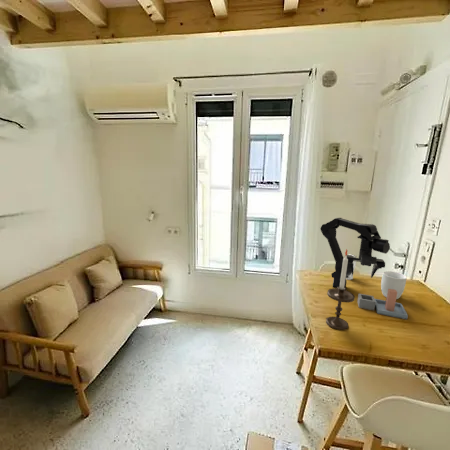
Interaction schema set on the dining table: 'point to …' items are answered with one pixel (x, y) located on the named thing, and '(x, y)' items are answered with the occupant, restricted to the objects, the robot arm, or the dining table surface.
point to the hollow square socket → (366, 301)
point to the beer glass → (353, 268)
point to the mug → (393, 282)
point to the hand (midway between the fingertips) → (361, 275)
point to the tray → (398, 311)
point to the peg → (391, 300)
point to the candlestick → (340, 299)
